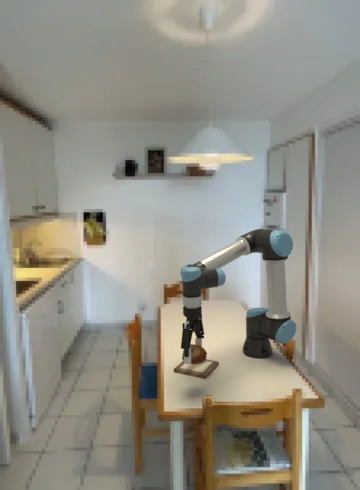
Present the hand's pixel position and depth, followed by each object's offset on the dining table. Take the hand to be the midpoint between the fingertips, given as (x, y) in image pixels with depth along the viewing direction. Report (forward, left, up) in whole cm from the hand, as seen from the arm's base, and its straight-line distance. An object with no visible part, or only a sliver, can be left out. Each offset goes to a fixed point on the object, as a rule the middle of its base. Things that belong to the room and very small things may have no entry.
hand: (193, 358), depth 154 cm
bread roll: (0, 0, -1) cm, 1 cm away
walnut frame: (+8, -21, -15) cm, 27 cm away
